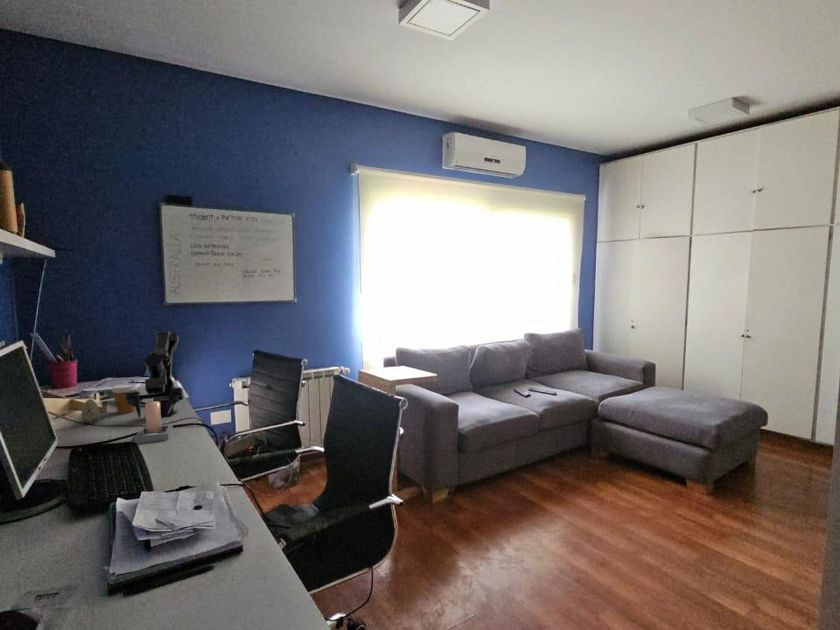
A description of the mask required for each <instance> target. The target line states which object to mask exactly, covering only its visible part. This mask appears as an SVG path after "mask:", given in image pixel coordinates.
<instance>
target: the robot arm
mask: <svg viewBox="0 0 840 630" xmlns="http://www.w3.org/2000/svg"><path fill="white" fill-rule="evenodd" d="M155 339H156V342H155V343H156V345H155V349H154V350H151V352H150V353H149V355H148V356H147V357H145V359H144V365H146V368H147V370H148V372H149V379H145V383H144V388H145V392H147V393H143V394H139V391H140V390H137V391H134V392H128V393H127V394H126V396H125V399H126V401H127V403H128V405H132V406H135V409H136V413H137V417H138V418H139V419H140V418H141V417H142V415H141V414H142V405H141V403H140V402H141V399H143V400H148V399H149V400H150V399H153V401H159V402H160V409H161V417H172V416H173V415H175V414H176V413H178V412H177V411H178V410H175V405H176V404H177V403H179V402H180V401H182V400H184V391H183V388H182V387H176V386H175V383H174V381H173V380H172V371H173V370H172V369H173V357H174V356H173V353H174V352H175V350H176V349H177V348H178V344H179V342H180V341H179V340H180V338H179V335H178V334H177V333H175V332H172V331H159V332H157V334H156V337H155Z"/></svg>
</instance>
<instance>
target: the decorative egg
mask: <svg viewBox="0 0 840 630" xmlns="http://www.w3.org/2000/svg"><path fill="white" fill-rule="evenodd" d="M100 415H101V412H100V408H99V405H98V404H97V402H96V401H95V400H94V399H87V400H86V401H85V402H84V403H83V405H82V410H81V419H82V421H83V422H84V423H86V424H93V423H96V422H97V421H98V419H99V418H100Z"/></svg>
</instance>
